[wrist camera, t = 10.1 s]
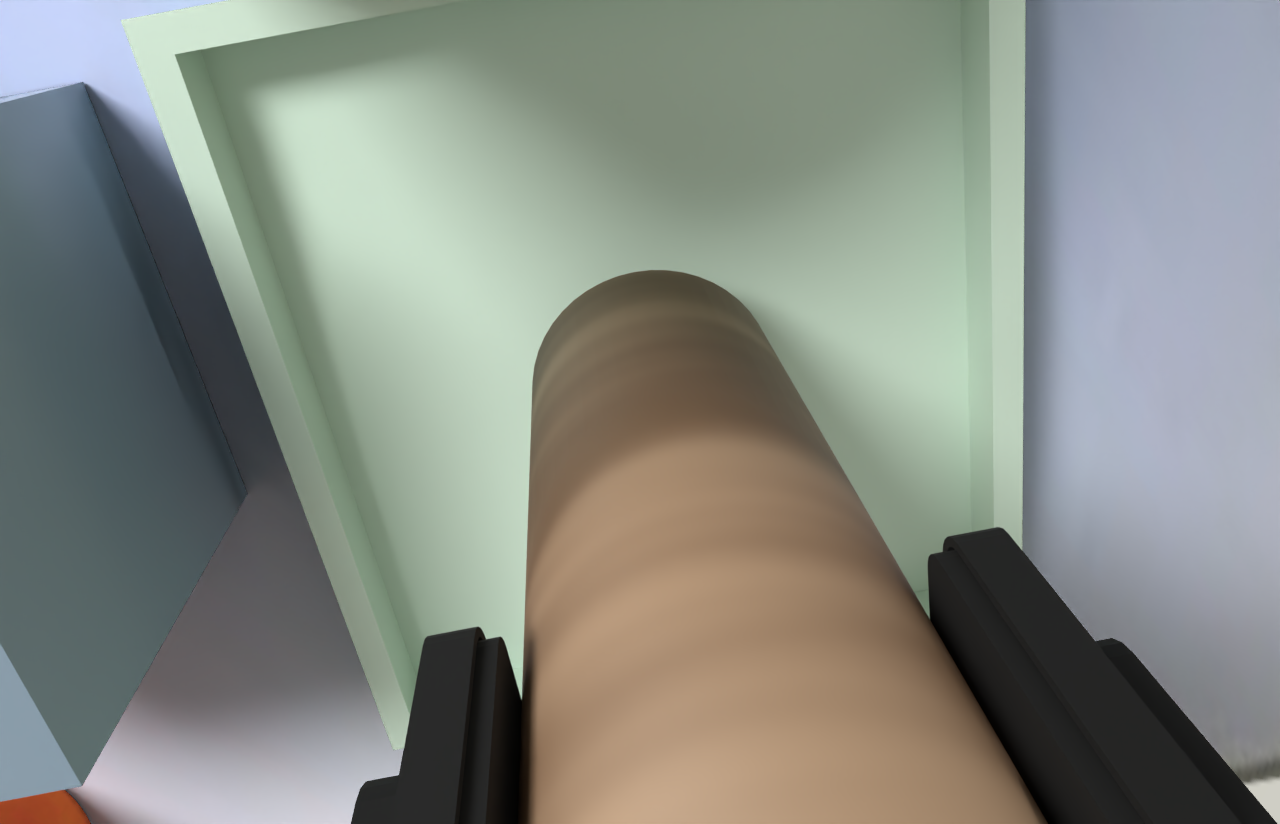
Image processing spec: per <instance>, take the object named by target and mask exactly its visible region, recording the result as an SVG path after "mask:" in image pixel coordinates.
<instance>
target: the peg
mask: <svg viewBox="0 0 1280 824" xmlns="http://www.w3.org/2000/svg"><path fill="white" fill-rule="evenodd" d="M518 824H1048V822H1047V821H1046V819H1045V817H1044V815H1043V814H1042V812H1041V810H1040V809H1039V807H1038V805H1037V803H1036V802H1035V800H1034V798H1033V796H1032V795H1031V793H1030V791H1029V790H1028V788H1027V786H1026V784H1025V783H1024V781H1023V779H1022V778H1021V776H1020V774H1019V772H1018V771H1017V769H1016V767H1015V765H1014V764H1013V762H1012V760H1011V759H1010V757H1009V755H1008V753H1007V752H1006V750H1005V748H1004V746H1003V745H1002V743H1001V741H1000V740H999V738H998V736H997V734H996V733H995V731H994V729H993V727H992V726H991V724H990V722H989V721H988V719H987V717H986V715H985V714H984V712H983V710H982V709H981V707H980V705H979V703H978V702H977V700H976V698H975V696H974V695H973V693H972V691H971V690H970V688H969V686H968V684H967V683H966V681H965V679H964V677H963V676H962V674H961V672H960V671H959V669H958V667H957V665H956V664H955V662H954V660H953V658H952V657H951V655H950V653H949V652H948V650H947V648H946V646H945V645H944V643H943V641H942V639H941V638H940V636H939V634H938V633H937V631H936V629H935V627H934V626H933V624H932V622H931V621H930V619H929V617H928V615H927V614H926V612H925V610H924V608H923V607H922V605H921V603H920V602H919V600H918V598H917V596H916V595H915V593H914V591H913V589H912V588H911V586H910V584H909V583H908V581H907V579H906V577H905V576H904V574H903V572H902V570H901V569H900V567H899V565H898V564H897V562H896V560H895V558H894V557H893V555H892V553H891V552H890V550H889V548H888V546H887V545H886V543H885V541H884V539H883V538H882V536H881V534H880V533H879V531H878V529H877V527H876V526H875V524H874V522H873V520H872V519H871V517H870V515H869V514H868V512H867V510H866V508H865V507H864V505H863V503H862V501H861V500H860V498H859V496H858V495H857V493H856V491H855V489H854V488H853V486H852V484H851V482H850V481H849V479H848V477H847V476H846V474H845V472H844V470H843V469H842V467H841V465H840V464H839V462H838V460H837V458H836V457H835V455H834V453H833V451H832V450H831V448H830V446H829V445H828V443H827V441H826V439H825V438H824V436H823V434H822V432H821V431H820V429H819V427H818V426H817V424H816V422H815V420H814V419H813V417H812V415H811V413H810V412H809V410H808V408H807V407H806V405H805V403H804V401H803V400H802V398H801V396H800V395H799V393H798V391H797V389H796V388H795V386H794V384H793V382H792V381H791V379H790V377H789V376H788V374H787V372H786V370H785V369H784V367H783V365H782V363H781V362H780V360H779V358H778V357H777V355H776V353H775V351H774V350H773V348H772V346H771V344H770V343H769V341H768V339H767V338H766V336H765V334H764V332H763V331H762V329H761V327H760V325H759V324H758V322H757V321H756V319H755V318H754V317H753V315H752V314H751V312H750V311H749V310H748V309H747V308H746V307H745V306H744V305H743V304H742V303H741V302H740V301H739V300H738V299H737V298H736V297H734V296H733V295H732V294H731V293H729V292H728V291H727V290H725V289H723V288H722V287H720V286H718V285H717V284H715V283H713V282H711V281H708V280H706V279H704V278H701V277H699V276H695V275H691V274H688V273H684V272H677V271H670V270H647V271H638V272H632V273H628V274H624V275H620V276H617V277H614V278H612V279H609V280H607V281H604V282H602V283H600V284H598V285H596V286H594V287H593V288H591V289H589V290H587V291H586V292H584V293H583V294H582V295H580V296H579V297H578V298H576V299H575V300H574V301H573V302H572V303H570V304H569V305H568V306H567V307H566V308H565V309H564V310H563V311H562V312H561V314H560V315H559V316H558V317H557V319H556V320H555V321H554V322H553V323H552V325H551V327H550V328H549V330H548V332H547V333H546V335H545V337H544V339H543V341H542V344H541V346H540V348H539V351H538V354H537V358H536V361H535V365H534V372H533V381H532V411H531V441H530V470H529V500H528V530H527V560H526V589H525V619H524V649H523V679H522V709H521V738H520V768H519V798H518Z"/></svg>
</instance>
